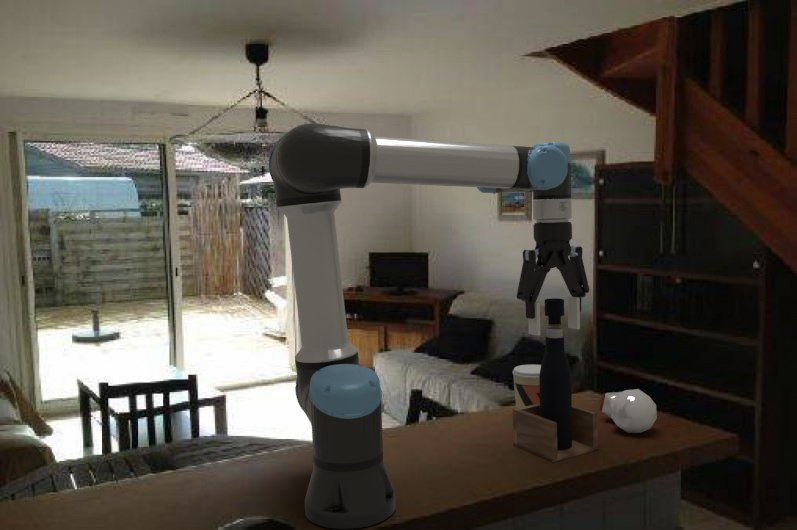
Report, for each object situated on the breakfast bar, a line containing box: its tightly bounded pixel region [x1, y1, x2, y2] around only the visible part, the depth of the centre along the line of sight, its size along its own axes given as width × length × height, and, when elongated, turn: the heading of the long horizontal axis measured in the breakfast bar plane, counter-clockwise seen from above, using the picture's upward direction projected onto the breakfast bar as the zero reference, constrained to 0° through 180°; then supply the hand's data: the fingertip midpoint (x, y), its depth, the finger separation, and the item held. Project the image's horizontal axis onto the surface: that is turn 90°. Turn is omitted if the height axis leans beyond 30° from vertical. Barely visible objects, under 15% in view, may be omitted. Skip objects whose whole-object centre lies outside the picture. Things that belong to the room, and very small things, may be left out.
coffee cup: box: [512, 364, 541, 409], centre depth 160 cm, size 9×9×12 cm
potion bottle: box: [599, 388, 658, 434], centre depth 151 cm, size 9×10×15 cm
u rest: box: [512, 403, 599, 463], centre depth 141 cm, size 12×12×8 cm
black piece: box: [539, 297, 573, 450], centre depth 140 cm, size 6×6×30 cm
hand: (554, 331), depth 139 cm, fingers open, 10 cm apart
